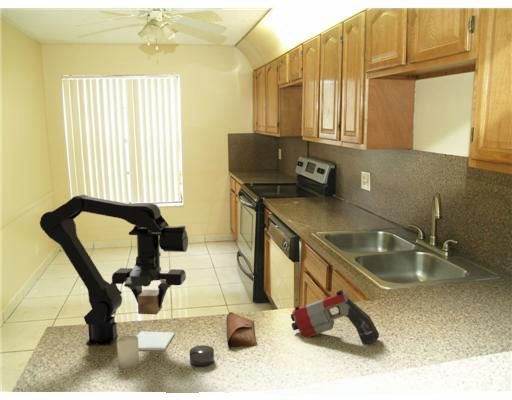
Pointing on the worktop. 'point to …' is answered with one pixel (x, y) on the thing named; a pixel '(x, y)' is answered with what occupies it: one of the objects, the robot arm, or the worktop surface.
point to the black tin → (201, 356)
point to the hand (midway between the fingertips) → (150, 307)
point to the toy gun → (333, 317)
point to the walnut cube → (148, 302)
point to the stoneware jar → (128, 351)
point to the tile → (154, 340)
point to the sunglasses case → (240, 331)
